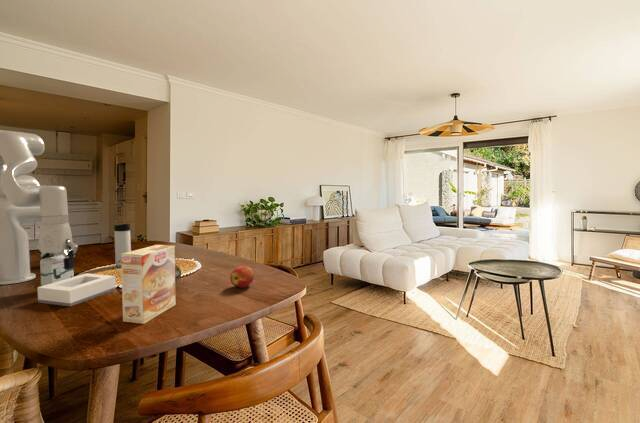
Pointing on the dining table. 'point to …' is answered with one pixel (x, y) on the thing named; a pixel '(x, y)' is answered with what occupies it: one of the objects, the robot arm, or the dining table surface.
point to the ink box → (54, 270)
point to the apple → (242, 276)
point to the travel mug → (121, 241)
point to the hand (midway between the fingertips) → (58, 268)
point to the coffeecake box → (148, 282)
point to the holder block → (76, 289)
